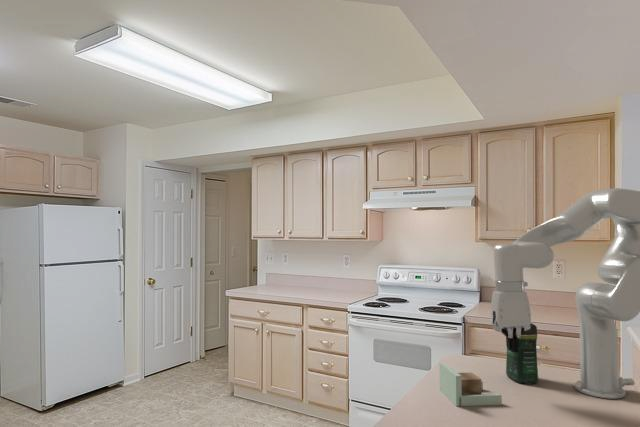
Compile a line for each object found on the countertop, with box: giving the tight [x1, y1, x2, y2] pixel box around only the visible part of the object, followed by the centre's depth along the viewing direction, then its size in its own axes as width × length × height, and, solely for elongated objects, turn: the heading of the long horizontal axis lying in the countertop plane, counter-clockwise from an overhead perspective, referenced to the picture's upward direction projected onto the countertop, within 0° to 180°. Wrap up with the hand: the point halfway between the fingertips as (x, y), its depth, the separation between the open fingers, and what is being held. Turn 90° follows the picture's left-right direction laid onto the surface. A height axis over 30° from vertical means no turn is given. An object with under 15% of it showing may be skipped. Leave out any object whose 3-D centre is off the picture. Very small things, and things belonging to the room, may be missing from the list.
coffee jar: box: [505, 322, 539, 385], centre depth 141 cm, size 10×8×19 cm
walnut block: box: [457, 371, 483, 395], centre depth 125 cm, size 6×6×6 cm
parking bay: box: [439, 362, 503, 407], centre depth 125 cm, size 13×12×8 cm
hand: (513, 350), depth 127 cm, fingers closed
